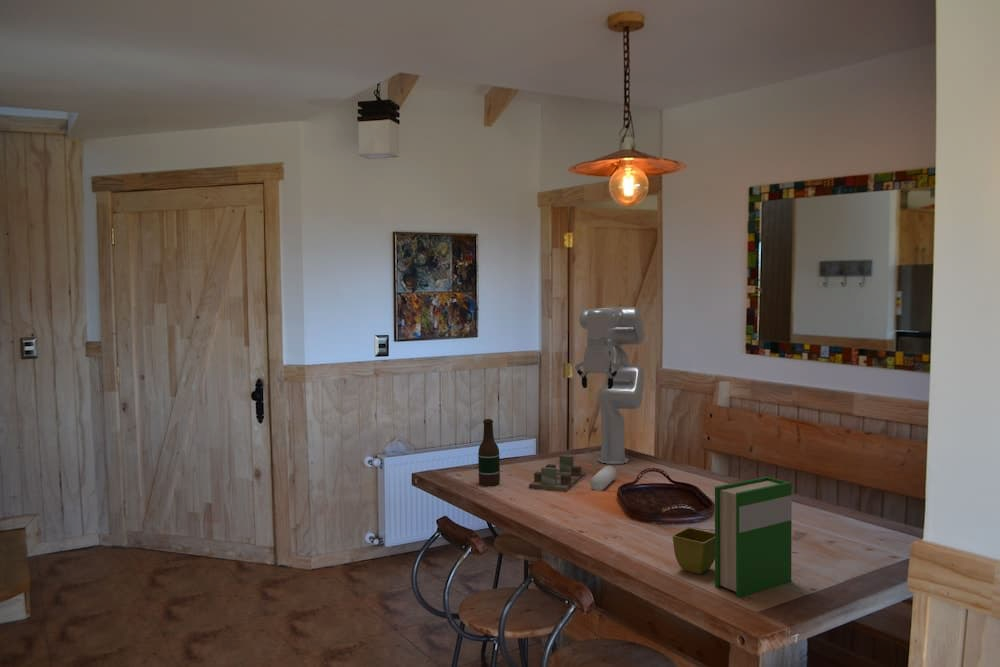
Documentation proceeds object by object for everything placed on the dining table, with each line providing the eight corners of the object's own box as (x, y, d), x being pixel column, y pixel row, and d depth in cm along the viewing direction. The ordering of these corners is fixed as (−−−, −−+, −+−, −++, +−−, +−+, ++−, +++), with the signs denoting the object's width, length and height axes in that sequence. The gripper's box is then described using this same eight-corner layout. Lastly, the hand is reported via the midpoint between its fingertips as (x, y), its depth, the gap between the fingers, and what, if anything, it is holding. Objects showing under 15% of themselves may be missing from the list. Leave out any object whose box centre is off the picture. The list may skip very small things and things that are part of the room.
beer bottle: (499, 486, 275) (498, 421, 274) (478, 487, 276) (477, 421, 274) (500, 481, 283) (499, 417, 282) (479, 481, 283) (478, 417, 282)
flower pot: (720, 569, 191) (720, 533, 190) (704, 579, 184) (704, 542, 184) (688, 561, 197) (688, 527, 196) (671, 570, 190) (671, 535, 190)
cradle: (551, 472, 295) (550, 453, 295) (585, 475, 290) (585, 456, 289) (528, 488, 272) (528, 468, 272) (566, 491, 267) (565, 470, 266)
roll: (602, 479, 284) (601, 465, 283) (616, 480, 282) (616, 465, 281) (590, 490, 269) (589, 474, 269) (605, 491, 267) (605, 475, 267)
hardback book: (739, 597, 173) (739, 493, 172) (715, 587, 179) (714, 486, 178) (791, 581, 182) (791, 482, 181) (766, 572, 188) (766, 476, 187)
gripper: (622, 342, 285) (622, 388, 285) (578, 342, 292) (578, 386, 292) (617, 343, 278) (617, 390, 278) (572, 343, 285) (572, 388, 285)
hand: (597, 388), depth 285 cm, fingers open, 9 cm apart
